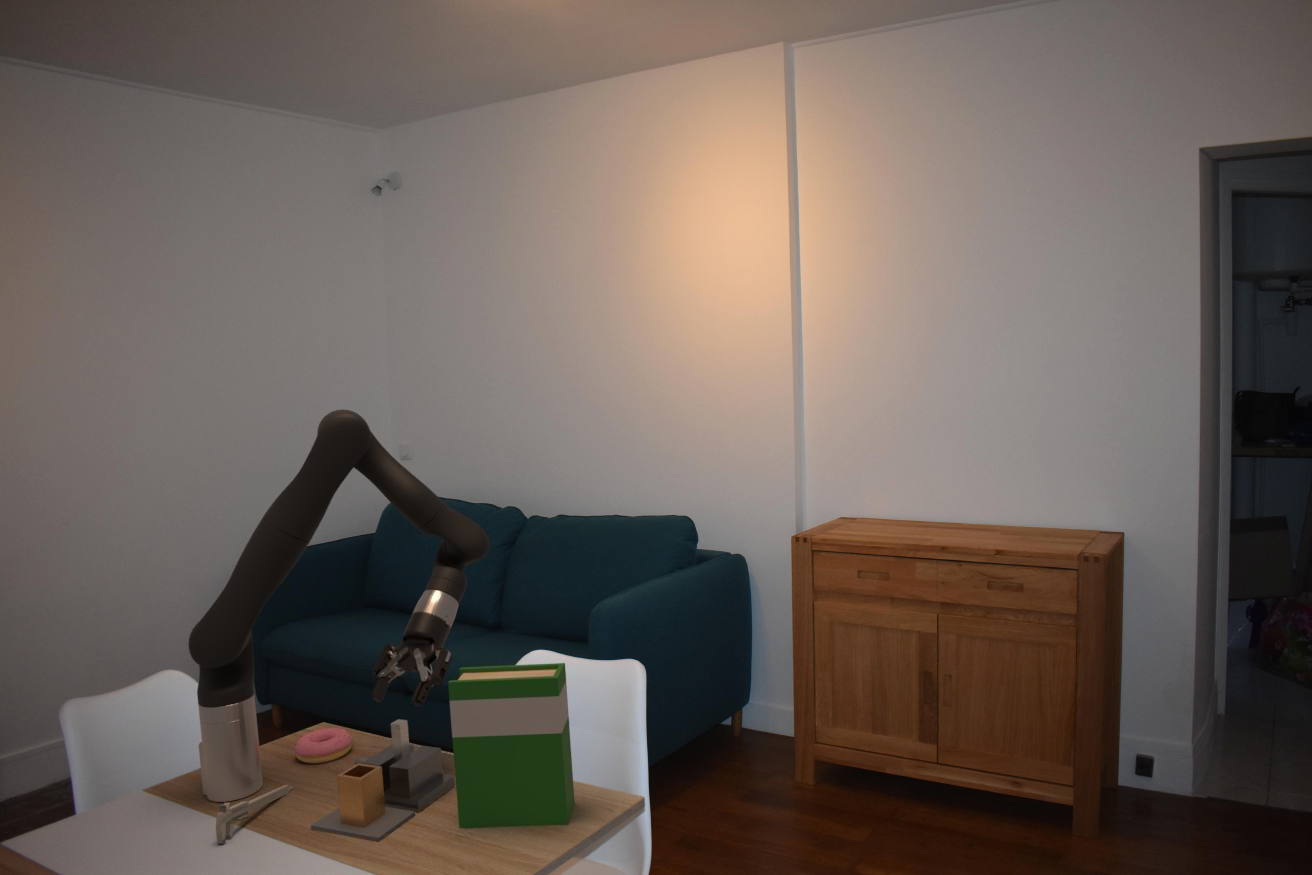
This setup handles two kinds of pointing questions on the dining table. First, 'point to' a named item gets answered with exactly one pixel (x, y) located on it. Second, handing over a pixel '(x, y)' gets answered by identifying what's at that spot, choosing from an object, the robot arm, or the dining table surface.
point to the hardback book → (512, 746)
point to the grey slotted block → (410, 772)
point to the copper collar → (361, 795)
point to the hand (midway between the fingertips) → (395, 702)
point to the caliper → (243, 812)
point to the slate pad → (370, 832)
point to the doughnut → (323, 745)
